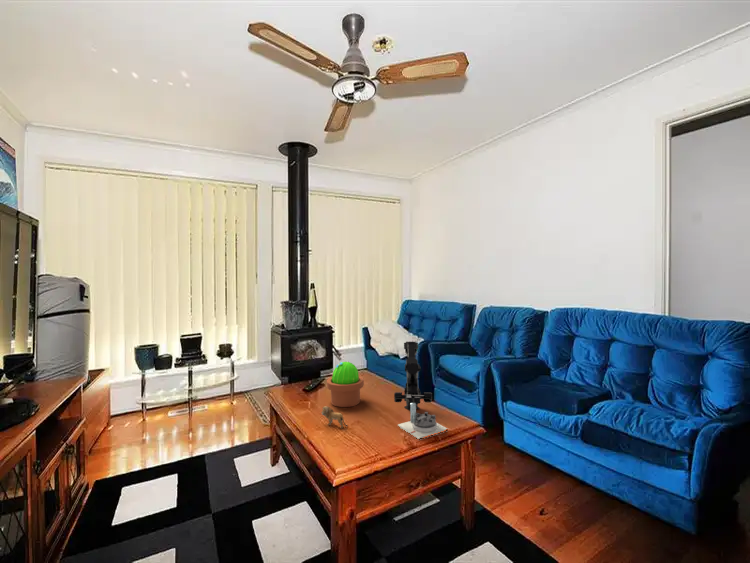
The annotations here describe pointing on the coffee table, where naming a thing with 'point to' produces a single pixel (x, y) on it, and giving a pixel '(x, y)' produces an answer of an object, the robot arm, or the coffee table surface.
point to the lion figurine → (332, 415)
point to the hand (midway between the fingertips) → (413, 414)
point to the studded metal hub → (421, 418)
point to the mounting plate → (418, 434)
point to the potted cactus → (345, 385)
